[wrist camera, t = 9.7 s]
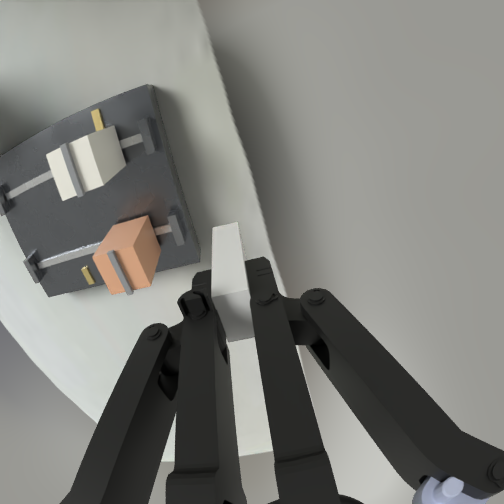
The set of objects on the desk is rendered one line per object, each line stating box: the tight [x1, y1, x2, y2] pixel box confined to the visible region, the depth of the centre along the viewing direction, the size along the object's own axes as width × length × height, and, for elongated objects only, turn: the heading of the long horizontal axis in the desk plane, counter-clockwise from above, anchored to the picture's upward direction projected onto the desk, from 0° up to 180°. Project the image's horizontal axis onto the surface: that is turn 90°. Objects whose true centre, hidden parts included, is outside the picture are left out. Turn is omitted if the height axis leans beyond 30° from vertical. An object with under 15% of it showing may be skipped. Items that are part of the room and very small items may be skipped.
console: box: [0, 84, 201, 297], centre depth 20 cm, size 14×16×3 cm
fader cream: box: [46, 125, 126, 201], centre depth 15 cm, size 3×3×5 cm
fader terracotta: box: [92, 215, 161, 295], centre depth 19 cm, size 3×3×5 cm
